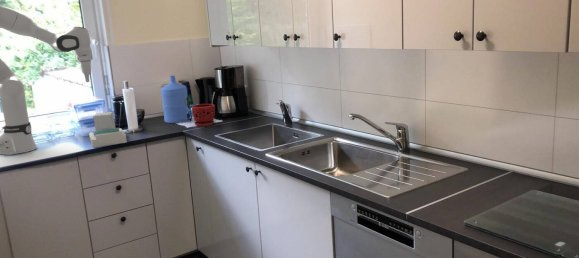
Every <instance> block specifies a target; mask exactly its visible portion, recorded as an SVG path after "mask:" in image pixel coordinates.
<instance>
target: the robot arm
mask: <svg viewBox="0 0 579 258" xmlns="http://www.w3.org/2000/svg"><path fill="white" fill-rule="evenodd" d="M0 29H3V30H5V31H8V32H9V33H13V34H15V35H16V34H17V35H19V36H22V37H23V36H24V37H30V38H34V39H36V40H38V41H41V42H43V43H45V44H47V45H49V46H50V47H51V48H52V49H54V50H55V51H56V52H58V53H70V52H72V51H73V52H74V57H75V61H78V64H80V68H81V69H80V70H81V73H82V74H83V76H84V78H85V82H86V83H90V75H92V60H94V57H93V51H92V47H91V39H90V37H91V36H90V33H89V31H88V29H87V28H85V27H82V26H73V27H71V28H70V29H69V30H68V31H65V32H64V33H55V32H54V33H53V32H51V31H49V30H46V29H45V28H42V27H40V26H38V25H37V24H36V23H35V22H34V21H33V19H32V18H31V17H29V16H28V15H27V14H25V13H22V12H20V11H18V10H16V9H14V8H10V7H8V6H3V5H0ZM24 86H25V85H24V84H23V82H22V81H21V80H20V79H19V78H18V77H17V75H16V74H15V73H14V71H12V69H11V68H10V67H9V66H8V65H7V63H6V62H5V61H4V60H3V58H2V57H1V56H0V101H1V106H2V114H3V118H4V119H3V120H4V123H5V125H4V126H2V127H1V130H3V133H2V134H1V135H0V155H3V156H4V155H6V156H12V155H16V154H17V155H18V154H22V153H27V152H31V151H34V150H36V149H38V146H37V144H36V141H35V140H34V136H33V133H32V125H31V124H32V123H31V121H30V119H29V114H28V107H27V100H26V93H25V87H24Z"/></svg>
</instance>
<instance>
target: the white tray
mask: <svg viewBox="0 0 579 258" xmlns="http://www.w3.org/2000/svg"><path fill="white" fill-rule="evenodd" d="M118 128H119V127H118ZM88 135H89V140H90V141H89V142H90V143H91V146H92V148H98V147H106V146H112V145H119V144H125V143H128V141H127V134H126V133H125V132H124V130H123V129H122V128H119V132H112V133H105V134H99V135H96V134H95V133H94V132H92V131H91V132H89V134H88Z"/></svg>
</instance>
